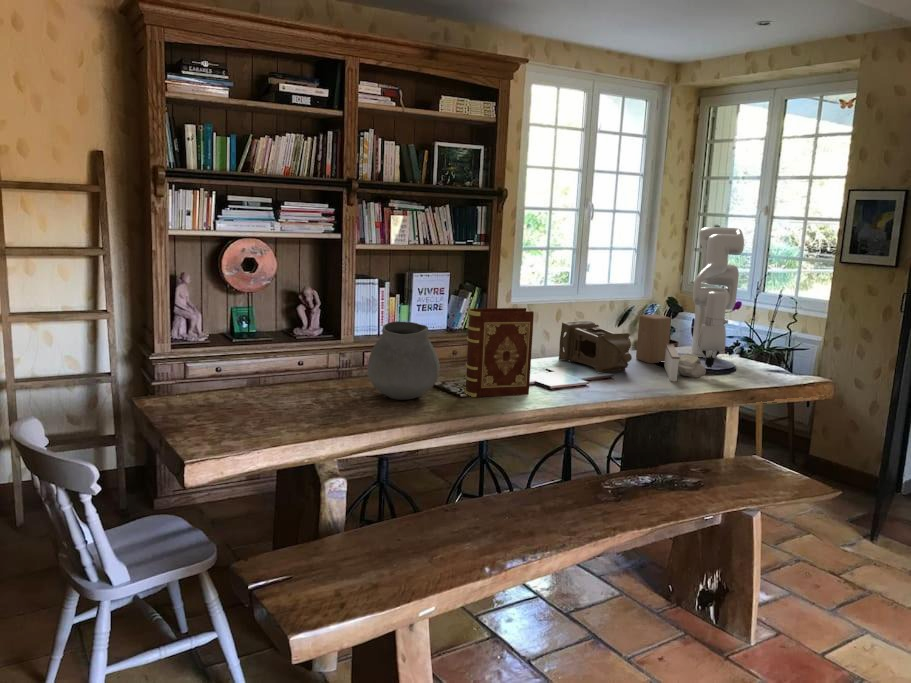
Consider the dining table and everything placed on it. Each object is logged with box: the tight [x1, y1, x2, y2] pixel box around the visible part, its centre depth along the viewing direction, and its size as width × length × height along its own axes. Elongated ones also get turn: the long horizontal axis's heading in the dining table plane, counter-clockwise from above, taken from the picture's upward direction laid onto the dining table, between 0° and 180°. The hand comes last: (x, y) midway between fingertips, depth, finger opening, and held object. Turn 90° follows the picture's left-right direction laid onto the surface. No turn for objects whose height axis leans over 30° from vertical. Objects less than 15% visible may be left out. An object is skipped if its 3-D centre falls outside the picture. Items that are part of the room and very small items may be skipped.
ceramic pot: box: [367, 320, 441, 401], centre depth 250 cm, size 24×24×25 cm
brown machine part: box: [558, 319, 633, 373], centre depth 306 cm, size 35×18×18 cm, turn 30°
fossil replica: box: [678, 354, 707, 379], centre depth 299 cm, size 12×8×10 cm
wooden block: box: [635, 313, 672, 364], centre depth 323 cm, size 10×10×20 cm
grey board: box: [663, 343, 680, 382], centre depth 301 cm, size 27×3×10 cm, turn 169°
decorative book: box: [464, 307, 535, 398], centre depth 259 cm, size 22×8×30 cm, turn 106°
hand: (709, 366), depth 299 cm, fingers closed
